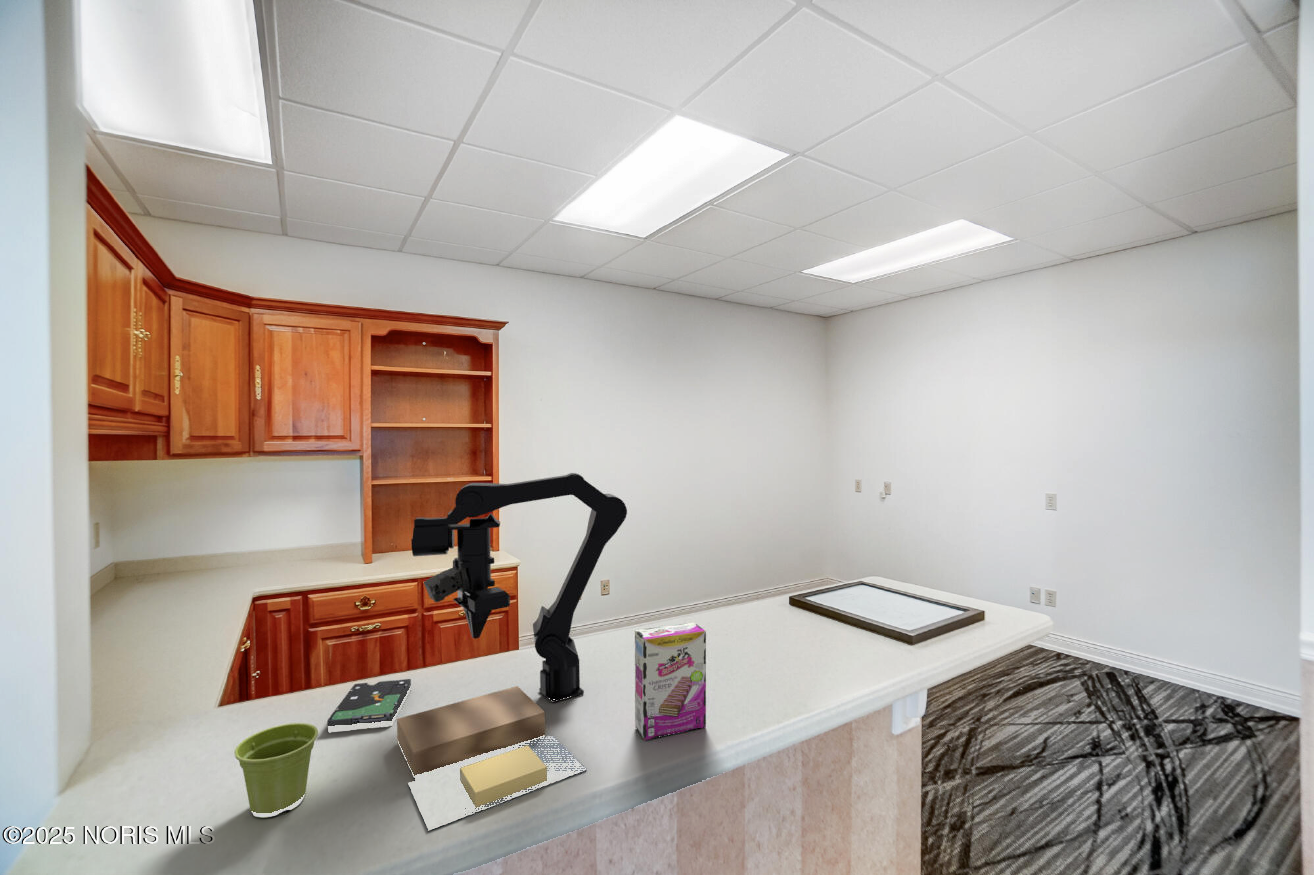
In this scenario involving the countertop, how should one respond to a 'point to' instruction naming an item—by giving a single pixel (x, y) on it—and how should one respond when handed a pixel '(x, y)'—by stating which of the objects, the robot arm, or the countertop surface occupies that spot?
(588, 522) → the robot arm
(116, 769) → the countertop surface
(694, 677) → the candy bar box
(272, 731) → the plant pot
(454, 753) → the deck
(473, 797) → the block
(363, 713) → the disk drive
